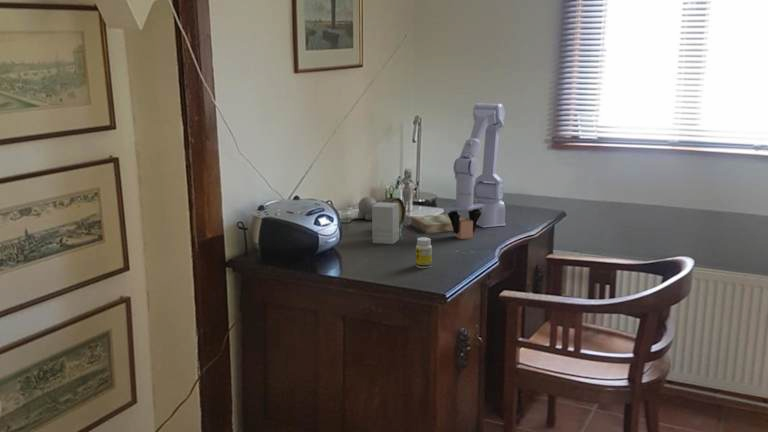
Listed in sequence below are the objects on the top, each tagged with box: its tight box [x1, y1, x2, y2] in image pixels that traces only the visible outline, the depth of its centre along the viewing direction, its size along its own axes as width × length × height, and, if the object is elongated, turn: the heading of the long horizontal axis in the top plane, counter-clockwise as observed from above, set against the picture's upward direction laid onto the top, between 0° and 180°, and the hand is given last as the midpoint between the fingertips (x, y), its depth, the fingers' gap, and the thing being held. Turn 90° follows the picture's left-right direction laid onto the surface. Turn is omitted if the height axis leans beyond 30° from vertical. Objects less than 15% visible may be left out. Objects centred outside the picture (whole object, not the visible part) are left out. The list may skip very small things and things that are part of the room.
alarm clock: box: [382, 185, 406, 230], centre depth 268 cm, size 11×5×16 cm, turn 148°
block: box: [454, 217, 474, 240], centre depth 261 cm, size 4×4×6 cm
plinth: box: [410, 213, 454, 234], centre depth 274 cm, size 14×14×3 cm
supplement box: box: [371, 201, 400, 245], centre depth 254 cm, size 7×7×13 cm
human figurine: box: [393, 168, 423, 217], centre depth 293 cm, size 12×4×18 cm, turn 68°
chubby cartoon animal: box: [357, 196, 384, 221], centre depth 286 cm, size 7×12×8 cm, turn 60°
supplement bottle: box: [415, 236, 433, 269], centre depth 226 cm, size 5×5×8 cm
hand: (463, 232), depth 261 cm, fingers open, 5 cm apart
